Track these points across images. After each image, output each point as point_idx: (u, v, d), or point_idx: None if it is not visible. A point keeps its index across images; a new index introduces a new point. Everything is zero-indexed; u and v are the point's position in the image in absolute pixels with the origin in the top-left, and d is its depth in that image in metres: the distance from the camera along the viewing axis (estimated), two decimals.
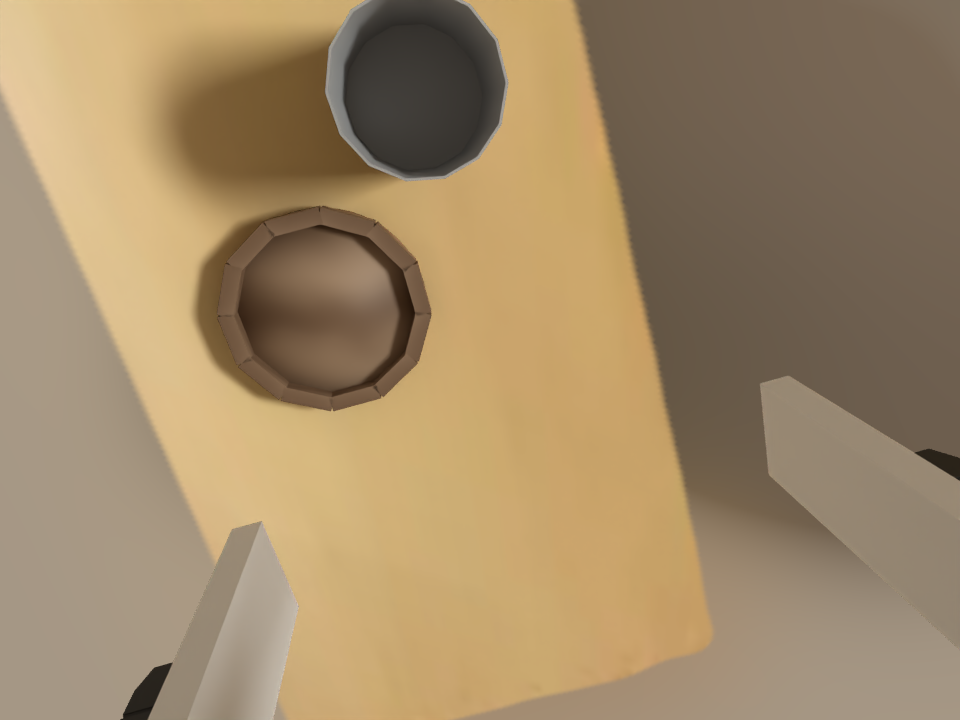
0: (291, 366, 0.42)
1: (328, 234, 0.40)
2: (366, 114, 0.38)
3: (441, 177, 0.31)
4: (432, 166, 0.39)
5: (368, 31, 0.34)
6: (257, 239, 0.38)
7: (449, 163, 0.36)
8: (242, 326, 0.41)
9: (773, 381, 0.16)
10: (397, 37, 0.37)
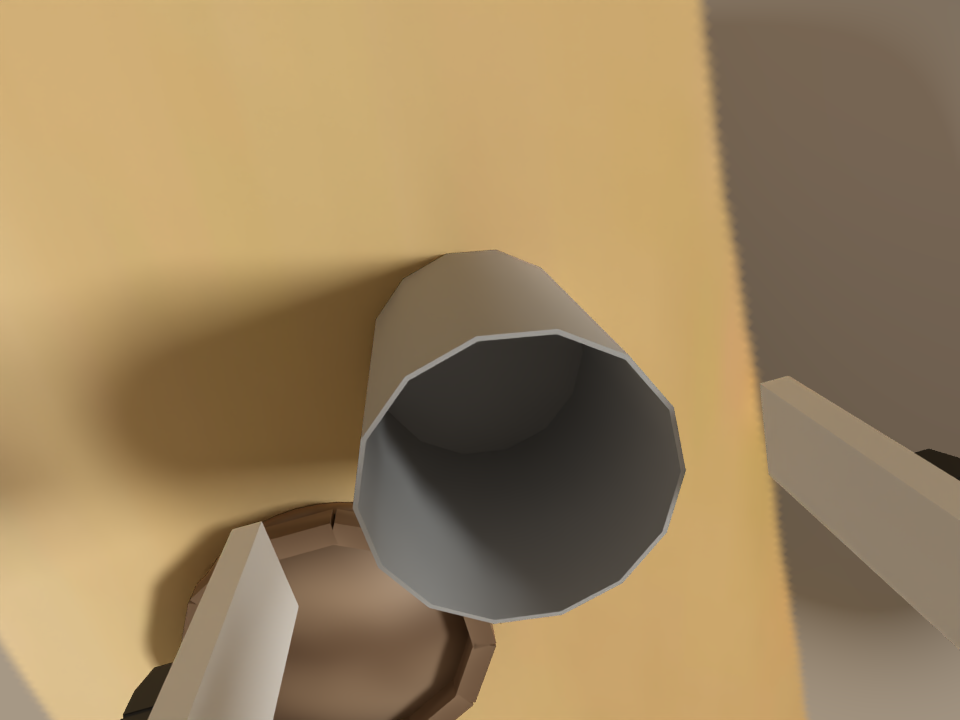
0: (289, 707, 0.29)
1: None
2: None
3: (555, 613, 0.17)
4: (502, 447, 0.26)
5: None
6: None
7: (539, 482, 0.23)
8: None
9: (773, 380, 0.16)
10: None
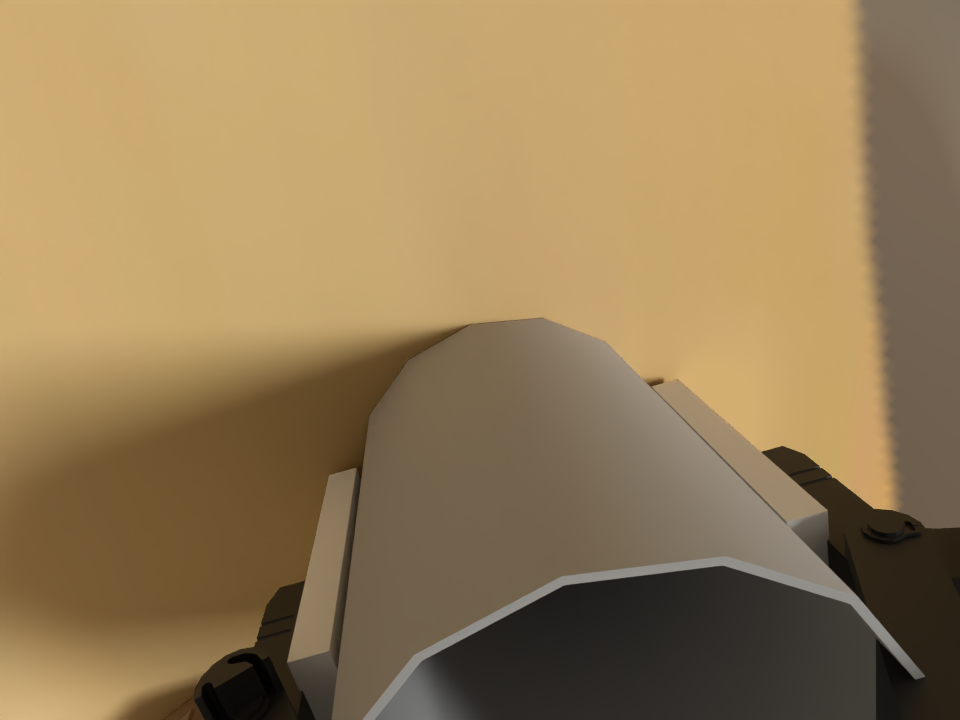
0: None
1: None
2: None
3: None
4: None
5: None
6: None
7: (610, 666, 0.15)
8: None
9: (663, 383, 0.17)
10: None
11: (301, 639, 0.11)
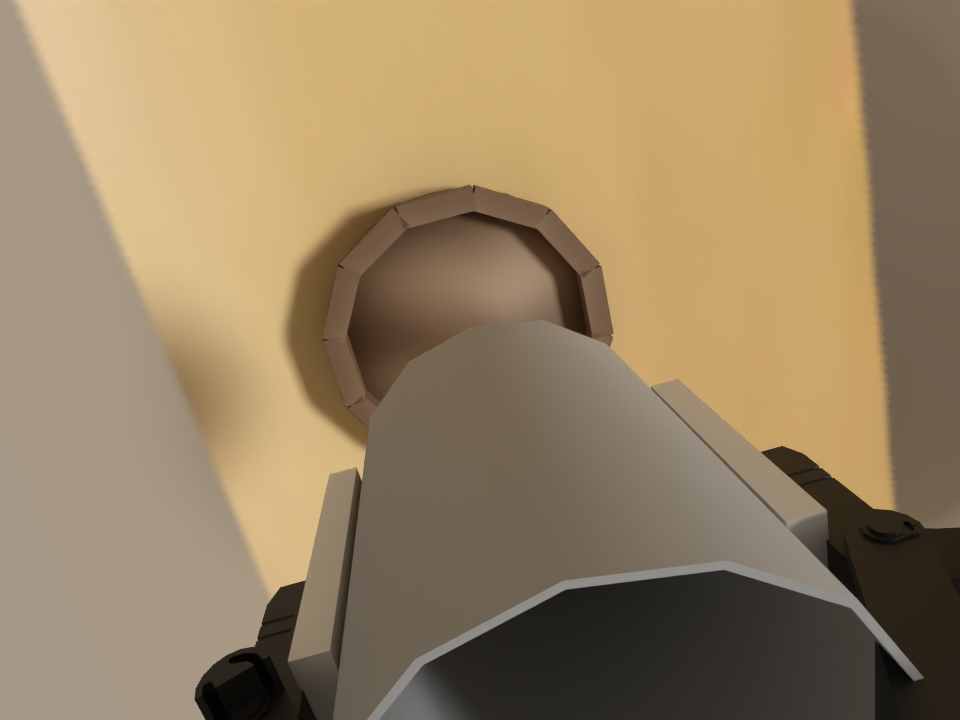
0: None
1: (478, 225, 0.28)
2: None
3: None
4: None
5: None
6: (385, 232, 0.27)
7: (610, 668, 0.15)
8: (353, 353, 0.29)
9: (663, 383, 0.17)
10: None
11: (301, 639, 0.11)
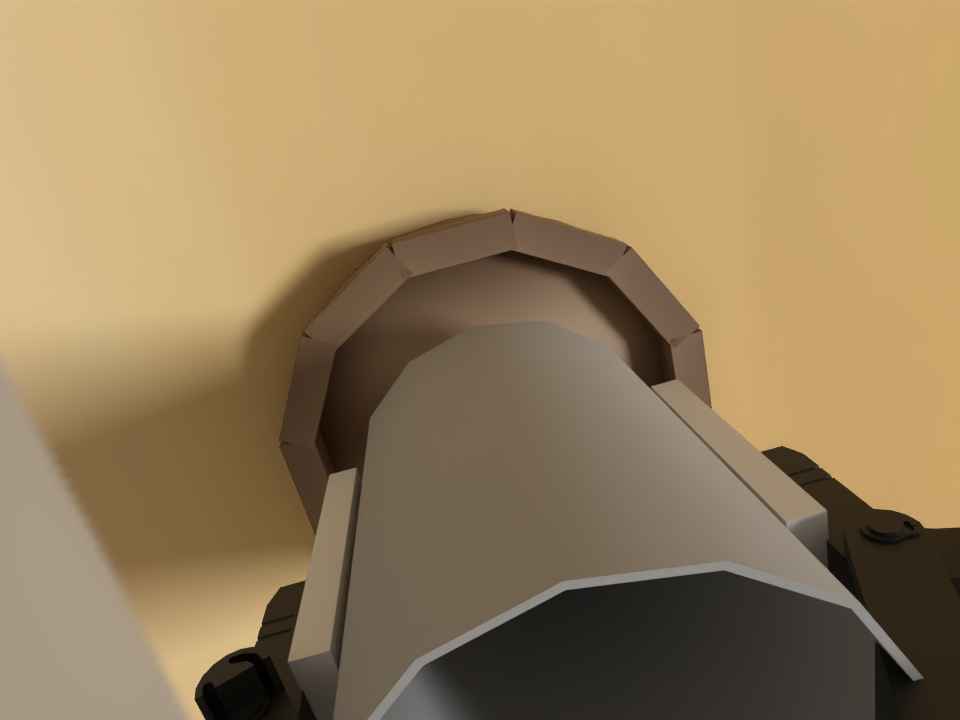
0: None
1: (516, 269, 0.19)
2: None
3: None
4: None
5: None
6: (374, 283, 0.17)
7: (610, 668, 0.15)
8: (328, 457, 0.20)
9: (663, 383, 0.17)
10: None
11: (301, 639, 0.11)
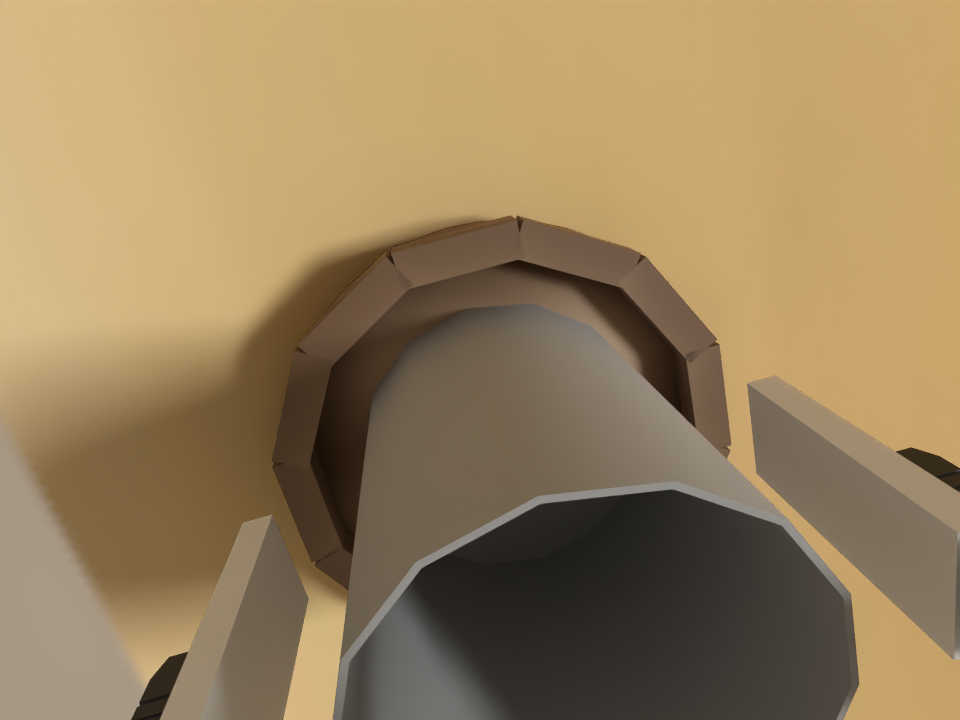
0: None
1: (523, 280, 0.18)
2: None
3: None
4: (536, 556, 0.20)
5: None
6: (373, 294, 0.16)
7: (592, 621, 0.17)
8: (324, 477, 0.19)
9: (760, 380, 0.16)
10: None
11: None
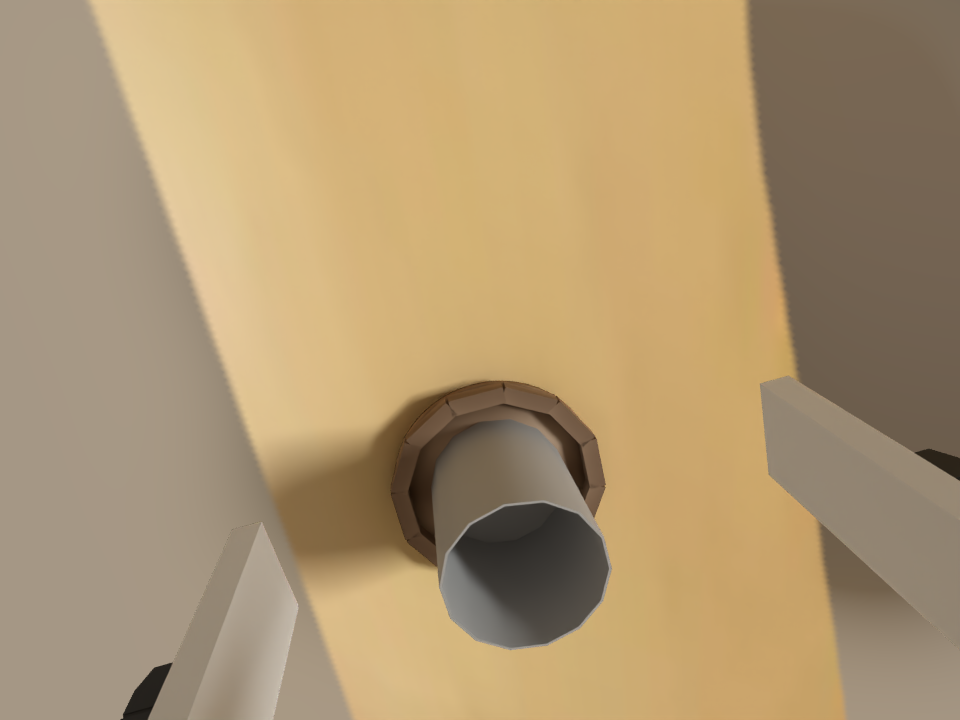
0: None
1: (506, 409, 0.39)
2: None
3: (543, 644, 0.32)
4: (513, 539, 0.41)
5: None
6: (439, 418, 0.37)
7: (536, 565, 0.38)
8: (411, 499, 0.40)
9: (773, 381, 0.16)
10: None
11: None
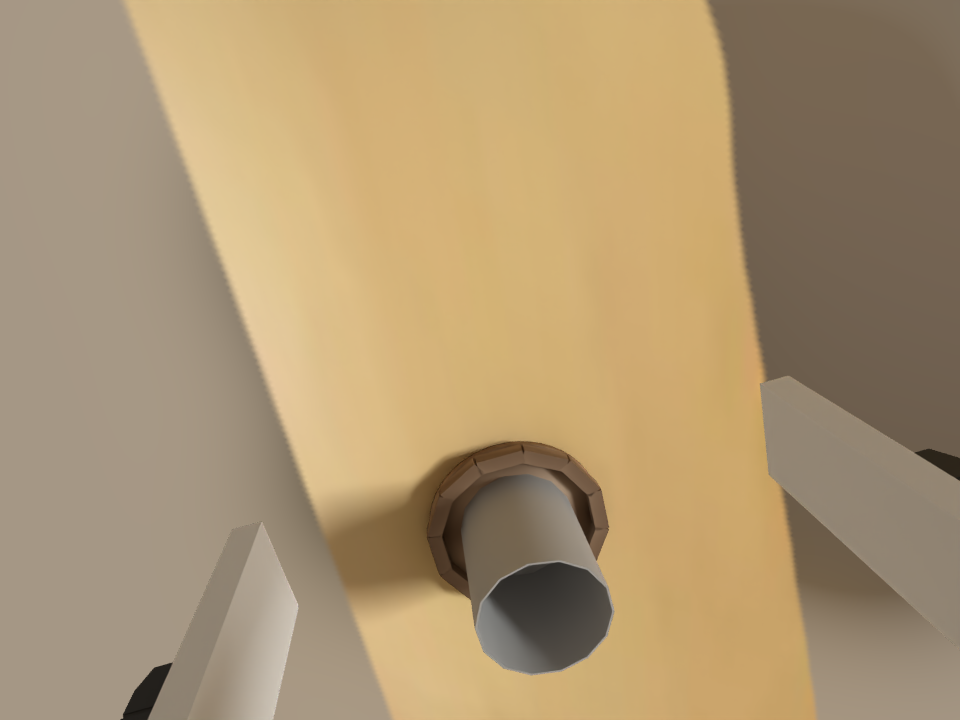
0: None
1: (524, 465, 0.46)
2: None
3: (558, 670, 0.39)
4: (530, 572, 0.48)
5: (491, 513, 0.43)
6: (469, 477, 0.44)
7: (550, 597, 0.45)
8: (444, 541, 0.47)
9: (773, 381, 0.16)
10: None
11: None
